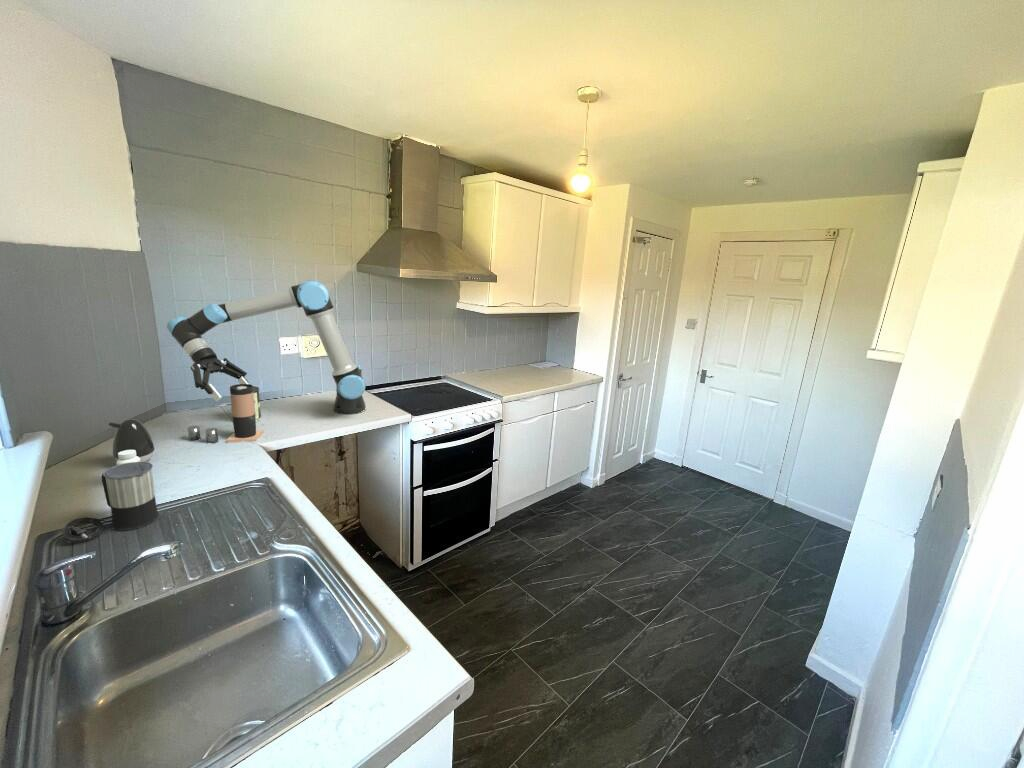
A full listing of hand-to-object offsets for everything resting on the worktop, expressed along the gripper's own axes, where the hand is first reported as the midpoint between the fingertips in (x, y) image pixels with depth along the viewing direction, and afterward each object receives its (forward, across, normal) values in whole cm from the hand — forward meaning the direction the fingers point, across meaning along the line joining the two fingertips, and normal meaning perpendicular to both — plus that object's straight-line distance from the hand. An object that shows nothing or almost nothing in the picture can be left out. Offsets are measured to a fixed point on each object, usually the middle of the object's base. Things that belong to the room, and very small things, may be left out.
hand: (235, 395), depth 160 cm
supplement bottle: (+14, +40, -10) cm, 43 cm away
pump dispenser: (+6, +31, -19) cm, 36 cm away
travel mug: (+14, 0, -10) cm, 17 cm away
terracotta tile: (+14, 0, -10) cm, 17 cm away
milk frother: (+29, +58, +5) cm, 65 cm away
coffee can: (+3, -17, -22) cm, 28 cm away
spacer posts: (+6, +1, -18) cm, 19 cm away
